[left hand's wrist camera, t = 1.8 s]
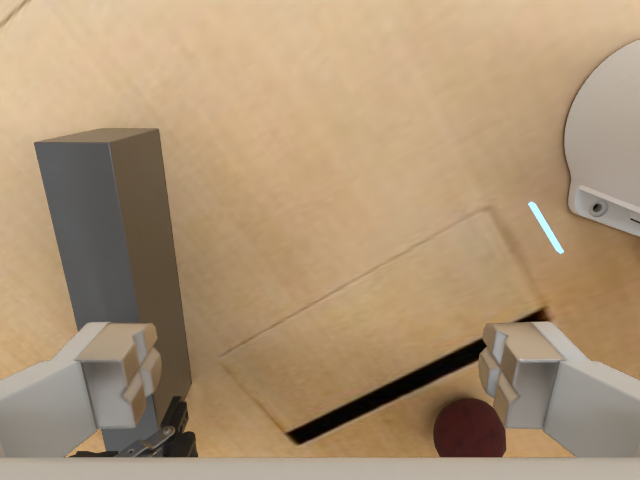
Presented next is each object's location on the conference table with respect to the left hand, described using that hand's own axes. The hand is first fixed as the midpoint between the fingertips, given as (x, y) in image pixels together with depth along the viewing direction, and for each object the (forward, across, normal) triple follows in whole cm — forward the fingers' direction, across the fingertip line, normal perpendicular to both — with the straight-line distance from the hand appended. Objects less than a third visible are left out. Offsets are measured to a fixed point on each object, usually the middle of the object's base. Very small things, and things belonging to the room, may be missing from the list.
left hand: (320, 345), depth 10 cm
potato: (+29, +16, -29) cm, 44 cm away
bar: (+29, -17, -11) cm, 36 cm away
